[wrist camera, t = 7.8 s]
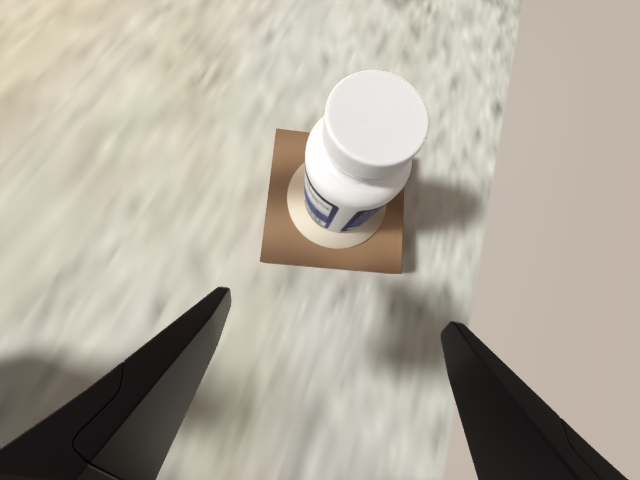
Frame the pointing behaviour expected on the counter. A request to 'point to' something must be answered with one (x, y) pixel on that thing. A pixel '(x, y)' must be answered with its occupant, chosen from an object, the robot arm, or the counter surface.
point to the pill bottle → (362, 148)
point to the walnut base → (310, 239)
